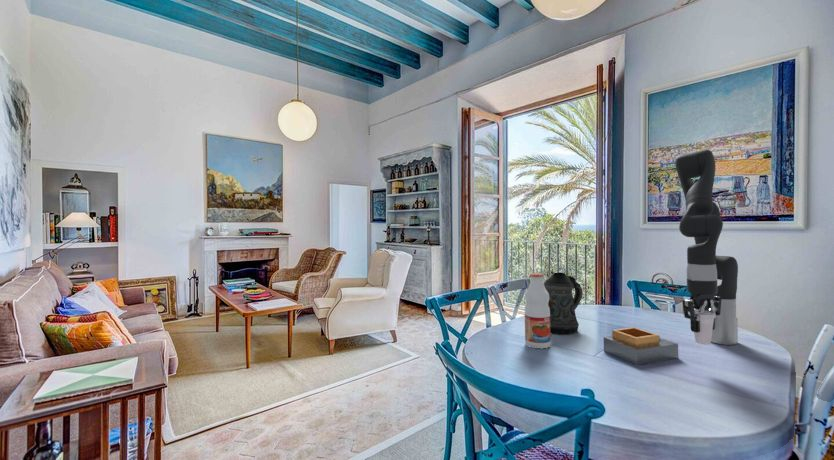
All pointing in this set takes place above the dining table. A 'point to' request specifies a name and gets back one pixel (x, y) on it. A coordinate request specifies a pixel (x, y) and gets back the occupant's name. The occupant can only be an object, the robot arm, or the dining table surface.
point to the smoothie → (705, 328)
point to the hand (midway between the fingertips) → (702, 330)
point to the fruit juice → (537, 313)
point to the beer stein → (563, 303)
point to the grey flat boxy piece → (639, 346)
